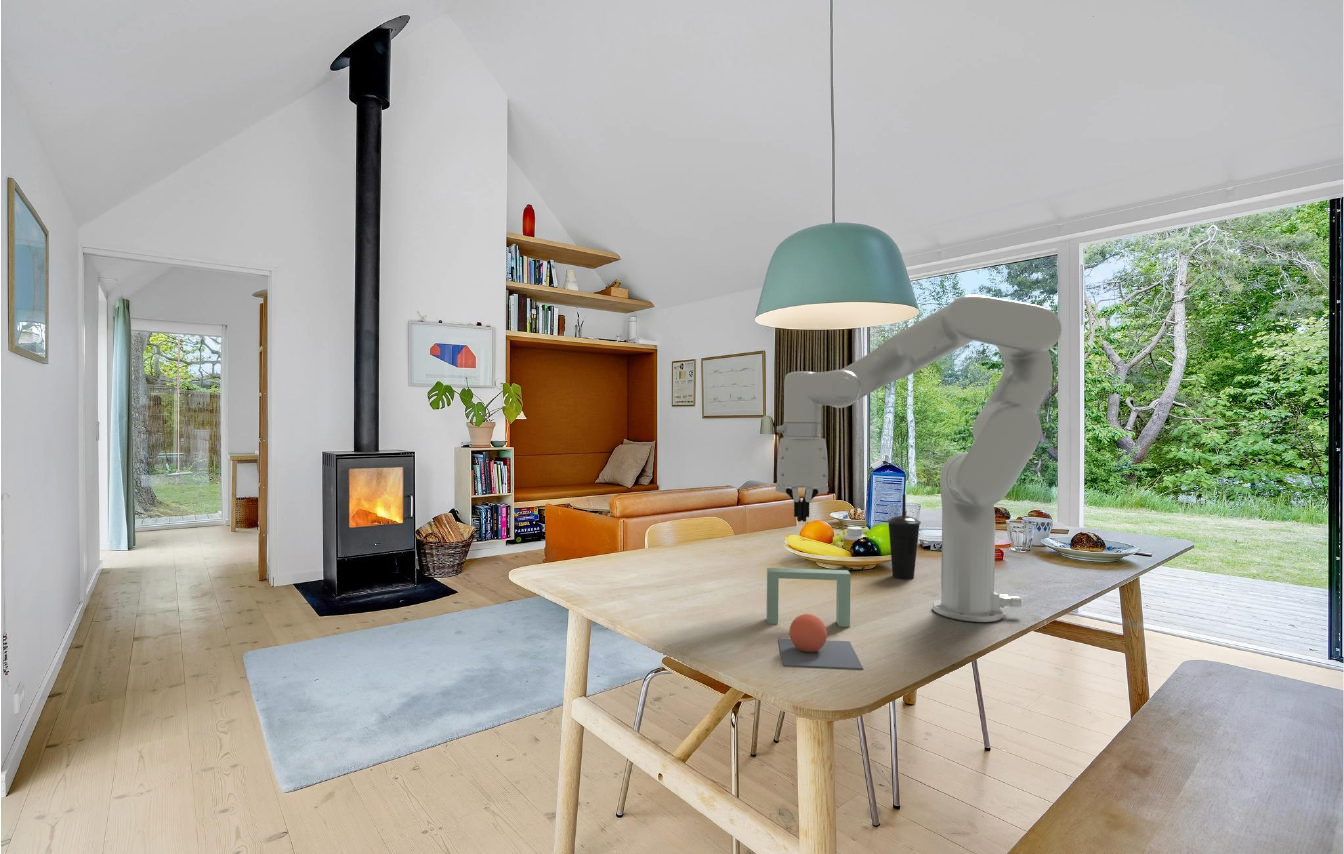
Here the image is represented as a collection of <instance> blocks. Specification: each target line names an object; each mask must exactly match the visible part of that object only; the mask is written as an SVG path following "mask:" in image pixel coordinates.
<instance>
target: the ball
mask: <svg viewBox="0 0 1344 854" xmlns="http://www.w3.org/2000/svg"><path fill="white" fill-rule="evenodd" d="M788 631H789V633H788V634H789V639H791V641H792V643H793V644H794V646H795V647H796V648H798V649H799V650H801V651H803V652H808V653H811V652H815V651H818V650H819V649H821V648H822V647H823V645H824V644H825V642H826V640H828V639H827V636H828V631H827V627H826V625H825V624H824V622H823V621H822V619H820V618H819V617H818V616H816V615H814V614H812V613H803V614H801V615H798V616H796V617H795V618H794V619H793V621H792V622H791V623H790V627H789V630H788Z"/></svg>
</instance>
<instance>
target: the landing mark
mask: <svg viewBox="0 0 1344 854" xmlns="http://www.w3.org/2000/svg"><path fill="white" fill-rule="evenodd" d="M777 640H778V646H779V650H780V654H781V655H780V657H781V660H782V661H781V662H782V666H783V667H798V668H799V667H800V668H818V669H819V668H824V669H839V670H840V669H841V670H843V669H844V670H861V671H863V670H864V667H863V665H862V663H861V661H860V659H859V657H858V655H857V652H856V651H855V649H854V647H853V645H852V643H851V641H850V640H830V639H826V642H825V644H824V645H823V647H822V648H821V649H819V650H818V651H815V652H811V653H808V652H803V651H801V650H799V649H798V648H796V647H795V646H794V644H793V643H792V641H791V639H790V638H779V637H778V639H777Z"/></svg>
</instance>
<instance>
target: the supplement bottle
mask: <svg viewBox="0 0 1344 854" xmlns="http://www.w3.org/2000/svg"><path fill="white" fill-rule="evenodd" d="M863 537H866V535H864V529H863V527H860V526H847V527H846V533H845V534H844V535H843V544H842V545H843V546H842V547H843V548H845V549H846V550H849V551H850V548H851V546H852V543H854V542H855V541H857V540H858V539H861V538H863ZM852 570H862V568H857V567H855V568H853V569H852Z"/></svg>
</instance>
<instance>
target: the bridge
mask: <svg viewBox="0 0 1344 854" xmlns="http://www.w3.org/2000/svg"><path fill="white" fill-rule="evenodd" d="M779 579H786V580H787V579H788V580H790V579H791V580H793V579H794V580H821V581H826V580H827V581H836V613H835V616H836V618H835V619H836V624H837V626H838V627H842V628H844V627H845V628H847V627H848V628H850V627H851V573H850V571H849V570H848V569H818V568H817V569H816V568H788V567H786V568H785V567H766V624H767V625H768V624H769V625H778V624H779V587H780V586H779V584H780V583H779V581H780V580H779Z"/></svg>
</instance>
